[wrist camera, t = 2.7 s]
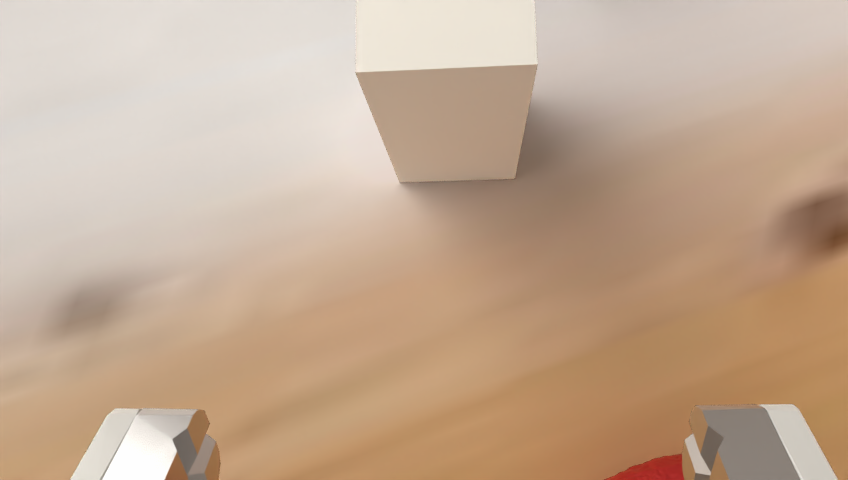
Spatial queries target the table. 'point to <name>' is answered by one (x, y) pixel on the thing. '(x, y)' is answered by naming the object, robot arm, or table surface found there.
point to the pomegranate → (654, 470)
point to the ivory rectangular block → (448, 83)
